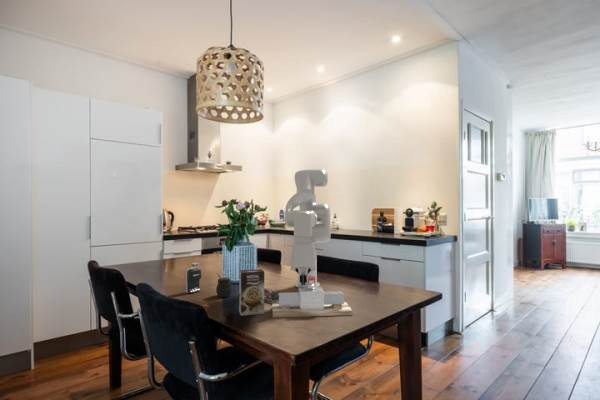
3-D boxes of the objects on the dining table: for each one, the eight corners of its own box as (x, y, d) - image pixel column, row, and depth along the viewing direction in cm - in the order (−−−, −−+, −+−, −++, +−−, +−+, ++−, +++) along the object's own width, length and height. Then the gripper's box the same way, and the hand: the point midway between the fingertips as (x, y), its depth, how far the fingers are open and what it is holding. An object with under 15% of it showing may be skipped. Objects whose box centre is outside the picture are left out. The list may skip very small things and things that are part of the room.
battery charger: (190, 294, 162) (190, 269, 163) (185, 293, 165) (185, 269, 165) (202, 291, 168) (202, 267, 168) (197, 290, 170) (197, 266, 170)
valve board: (272, 307, 141) (272, 300, 141) (345, 305, 143) (345, 298, 143) (272, 317, 129) (272, 309, 129) (352, 315, 131) (352, 306, 131)
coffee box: (240, 316, 131) (240, 272, 131) (238, 311, 137) (238, 269, 137) (264, 313, 133) (264, 271, 133) (261, 309, 139) (261, 268, 140)
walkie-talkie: (245, 297, 159) (274, 306, 144) (245, 287, 159) (274, 295, 145) (260, 293, 165) (289, 302, 151) (260, 284, 165) (289, 291, 151)
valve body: (278, 305, 138) (278, 288, 138) (341, 304, 140) (341, 286, 141) (279, 311, 131) (279, 292, 131) (344, 309, 134) (344, 290, 134)
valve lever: (308, 280, 151) (308, 276, 151) (315, 280, 150) (315, 276, 150) (307, 289, 135) (307, 284, 135) (314, 289, 135) (314, 284, 135)
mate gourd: (227, 298, 155) (226, 276, 155) (212, 297, 157) (211, 275, 158) (235, 294, 162) (234, 272, 162) (220, 293, 164) (220, 272, 164)
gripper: (320, 239, 151) (320, 282, 151) (285, 239, 151) (285, 282, 151) (321, 241, 143) (321, 286, 143) (284, 241, 143) (285, 286, 143)
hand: (303, 284), depth 147 cm, fingers closed
